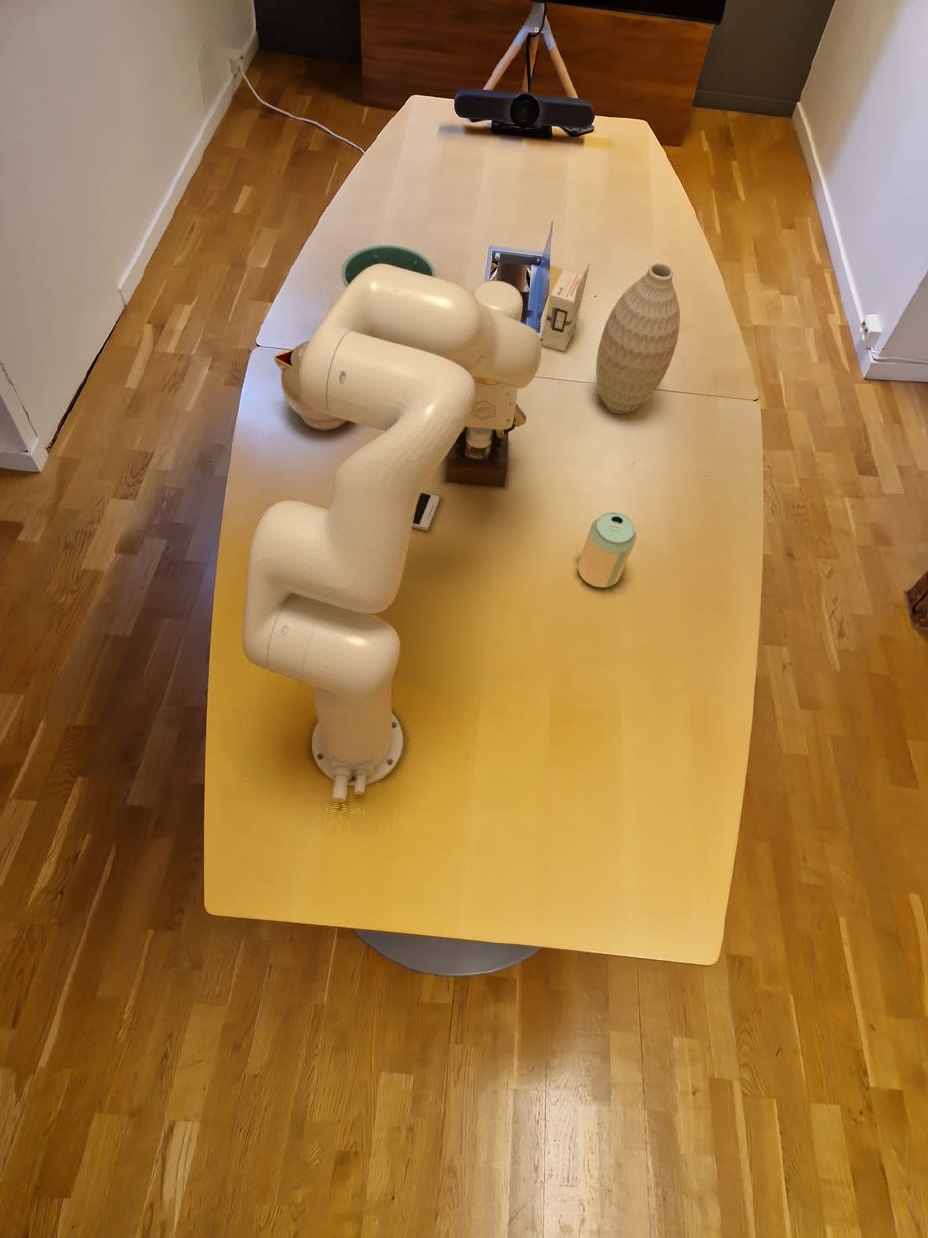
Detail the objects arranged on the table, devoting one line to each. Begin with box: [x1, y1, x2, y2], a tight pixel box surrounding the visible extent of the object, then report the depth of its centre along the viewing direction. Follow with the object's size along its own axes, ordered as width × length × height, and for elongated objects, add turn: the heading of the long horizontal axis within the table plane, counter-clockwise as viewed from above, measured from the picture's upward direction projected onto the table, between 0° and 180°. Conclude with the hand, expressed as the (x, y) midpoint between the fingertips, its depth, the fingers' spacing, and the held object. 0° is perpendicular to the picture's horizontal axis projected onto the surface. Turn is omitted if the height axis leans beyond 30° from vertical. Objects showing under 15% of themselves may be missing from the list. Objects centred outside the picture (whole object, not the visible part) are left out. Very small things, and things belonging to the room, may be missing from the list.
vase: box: [595, 262, 681, 415], centre depth 140 cm, size 13×13×28 cm
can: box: [577, 511, 637, 588], centre depth 127 cm, size 7×7×12 cm
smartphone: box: [412, 491, 441, 532], centre depth 136 cm, size 7×16×1 cm, turn 74°
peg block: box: [444, 427, 510, 488], centre depth 141 cm, size 10×10×4 cm
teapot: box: [273, 340, 347, 431], centre depth 139 cm, size 18×14×16 cm
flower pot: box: [341, 244, 437, 289], centre depth 149 cm, size 16×16×16 cm
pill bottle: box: [462, 427, 493, 460], centre depth 138 cm, size 5×5×8 cm
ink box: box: [541, 262, 590, 352], centre depth 155 cm, size 8×5×15 cm, turn 160°
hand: (477, 446), depth 139 cm, fingers closed on pill bottle, 4 cm apart
